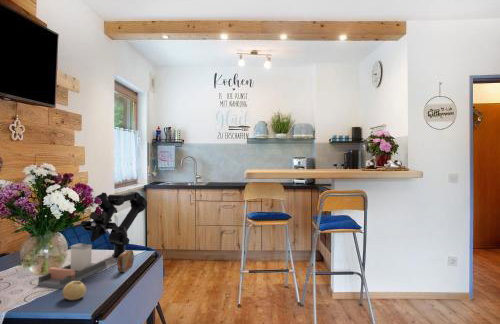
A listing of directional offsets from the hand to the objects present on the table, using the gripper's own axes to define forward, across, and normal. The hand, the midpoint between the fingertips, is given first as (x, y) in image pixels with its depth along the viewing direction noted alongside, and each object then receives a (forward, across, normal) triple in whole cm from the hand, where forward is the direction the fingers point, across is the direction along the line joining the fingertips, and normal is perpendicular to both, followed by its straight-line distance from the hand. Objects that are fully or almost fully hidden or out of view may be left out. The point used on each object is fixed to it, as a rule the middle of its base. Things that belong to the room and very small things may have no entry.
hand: (91, 241), depth 168 cm
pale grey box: (+13, 0, +3) cm, 13 cm away
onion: (+32, +17, -13) cm, 38 cm away
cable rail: (+17, 0, +1) cm, 17 cm away
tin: (+7, +16, +12) cm, 21 cm away
